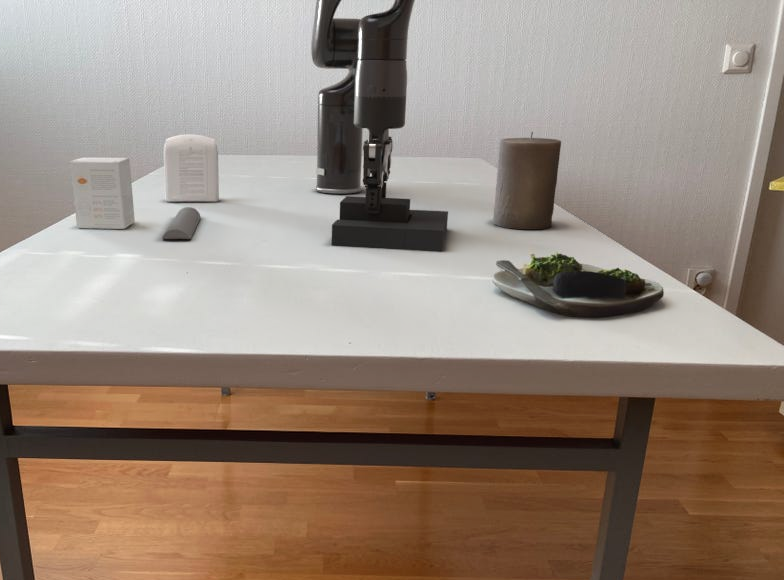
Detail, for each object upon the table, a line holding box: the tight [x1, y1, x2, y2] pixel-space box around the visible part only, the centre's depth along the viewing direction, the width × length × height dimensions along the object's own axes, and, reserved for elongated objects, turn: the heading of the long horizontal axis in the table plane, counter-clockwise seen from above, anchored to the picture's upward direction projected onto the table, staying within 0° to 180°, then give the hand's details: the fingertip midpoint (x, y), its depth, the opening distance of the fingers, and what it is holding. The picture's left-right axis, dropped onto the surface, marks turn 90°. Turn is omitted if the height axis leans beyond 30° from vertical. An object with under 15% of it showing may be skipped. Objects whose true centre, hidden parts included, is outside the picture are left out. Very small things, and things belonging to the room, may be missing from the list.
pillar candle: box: [492, 131, 562, 230], centre depth 128 cm, size 10×10×15 cm
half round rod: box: [161, 206, 202, 240], centre depth 124 cm, size 4×20×2 cm, turn 2°
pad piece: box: [339, 195, 411, 223], centre depth 119 cm, size 6×10×3 cm, turn 78°
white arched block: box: [163, 133, 220, 203], centre depth 147 cm, size 10×4×12 cm, turn 98°
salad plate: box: [492, 251, 665, 318], centre depth 90 cm, size 19×18×5 cm
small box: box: [69, 156, 136, 230], centre depth 124 cm, size 8×6×10 cm
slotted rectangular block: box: [331, 209, 449, 252], centre depth 119 cm, size 16×16×3 cm
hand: (375, 209), depth 119 cm, fingers closed on pad piece, 6 cm apart
